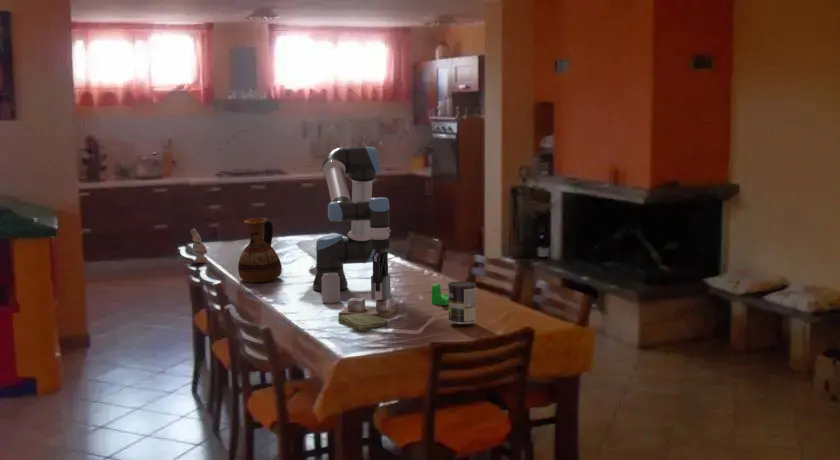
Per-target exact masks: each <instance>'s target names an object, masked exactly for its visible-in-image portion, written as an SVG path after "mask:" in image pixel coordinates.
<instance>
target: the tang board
mask: <svg viewBox="0 0 840 460" xmlns="http://www.w3.org/2000/svg"><path fill="white" fill-rule="evenodd" d="M399 309H400V307H399V306H396V307H395V306H387V300H375V306H372V305H370V306H368V305H366V298H364V297H351V298H349V299H347V307H345V308H344V309H342V310H340V311H339V312H338V317H339V316H341V315H353V314H359V313H369V314H372V315H374V316H378V317H381V318H384V319H385V320H387V319H388V320H389V319H390V318H392V317H393V316H394V315H395V314H397V313H398V312H399Z"/></svg>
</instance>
